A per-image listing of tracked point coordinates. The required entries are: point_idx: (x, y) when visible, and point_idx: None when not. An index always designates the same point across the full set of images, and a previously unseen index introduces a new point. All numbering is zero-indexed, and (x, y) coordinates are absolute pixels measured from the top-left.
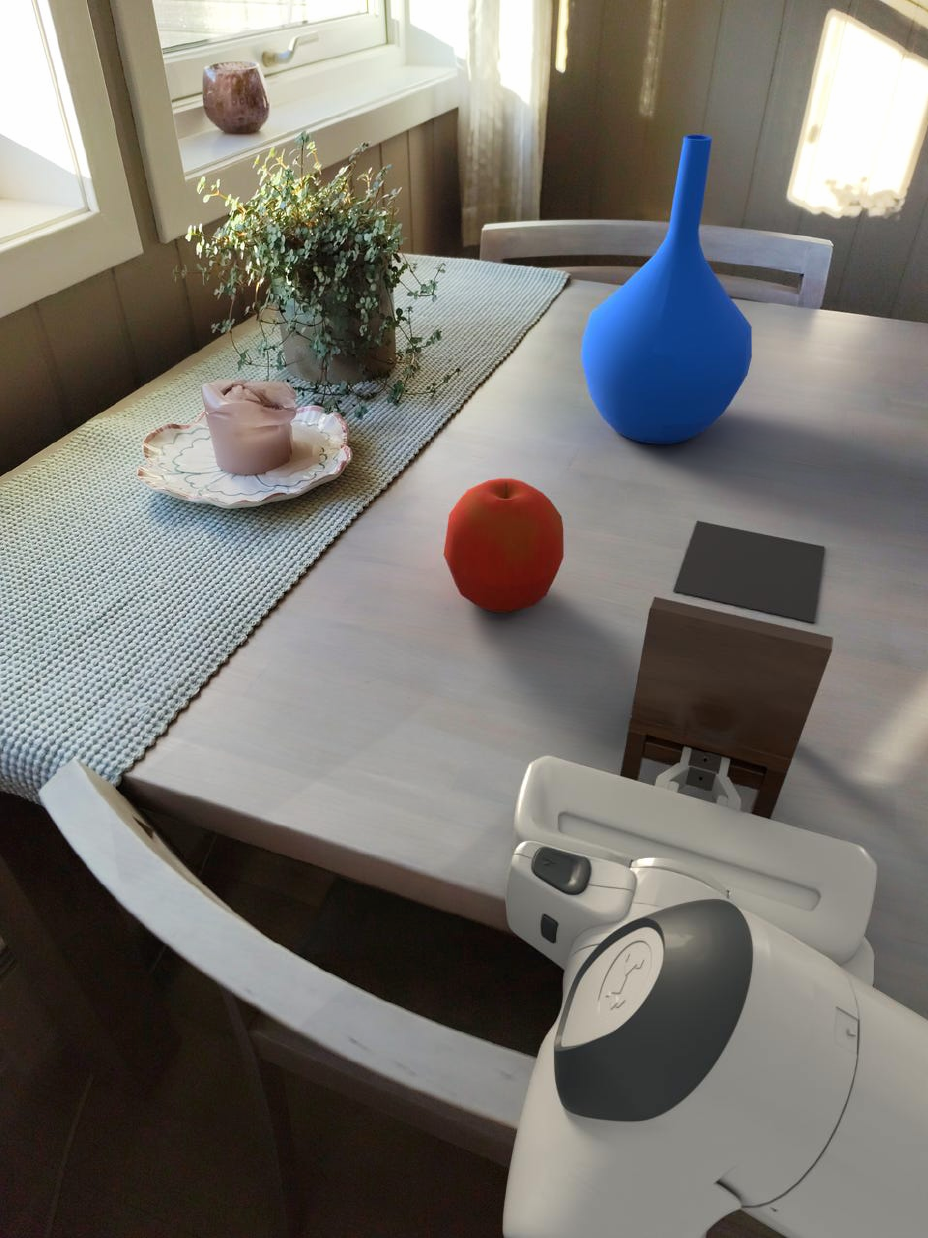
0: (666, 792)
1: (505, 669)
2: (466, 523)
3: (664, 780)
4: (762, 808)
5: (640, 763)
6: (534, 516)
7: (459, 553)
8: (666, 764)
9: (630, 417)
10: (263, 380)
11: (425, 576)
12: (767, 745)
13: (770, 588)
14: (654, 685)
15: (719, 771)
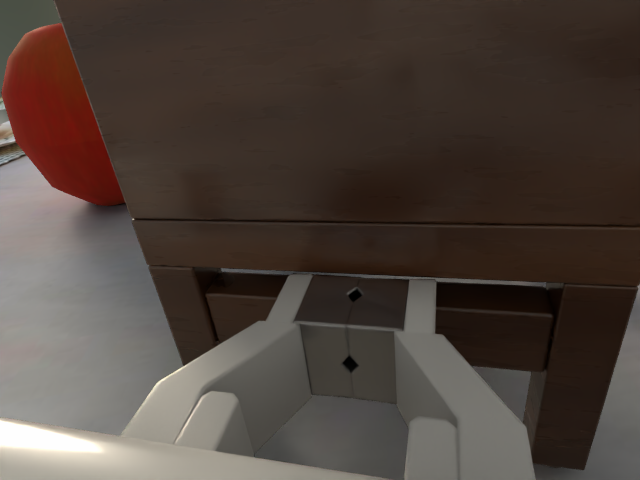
0: (120, 459)
1: (83, 261)
2: (8, 65)
3: (180, 393)
4: (563, 425)
5: None
6: None
7: (11, 113)
8: None
9: None
10: (4, 108)
11: (43, 191)
12: (555, 190)
13: None
14: (126, 62)
15: (405, 321)
